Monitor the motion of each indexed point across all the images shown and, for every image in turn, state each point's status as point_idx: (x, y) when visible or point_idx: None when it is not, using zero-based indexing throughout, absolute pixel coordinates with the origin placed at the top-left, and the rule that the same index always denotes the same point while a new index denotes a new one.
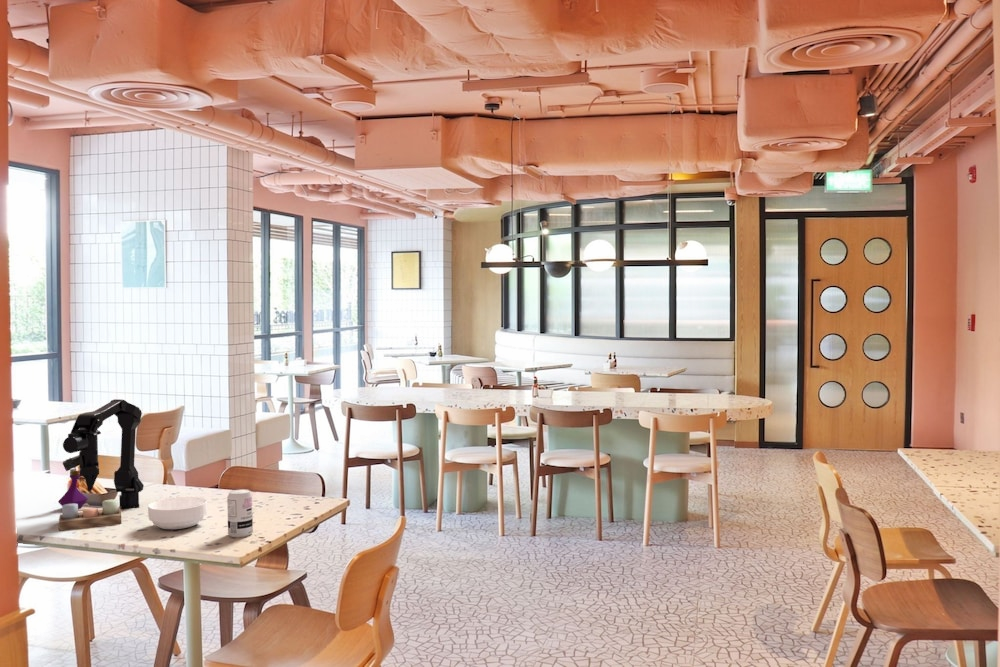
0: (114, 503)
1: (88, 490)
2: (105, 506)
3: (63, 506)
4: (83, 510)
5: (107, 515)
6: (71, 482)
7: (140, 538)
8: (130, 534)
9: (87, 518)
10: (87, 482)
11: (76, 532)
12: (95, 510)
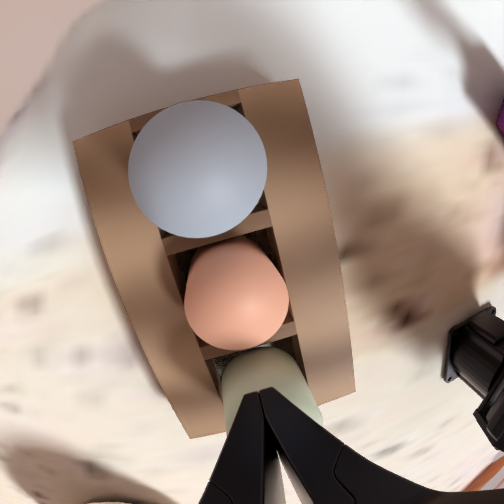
0: None
1: (244, 399)
2: (228, 404)
3: (151, 123)
4: (227, 260)
5: (196, 387)
6: None
7: (14, 459)
8: (40, 444)
9: (138, 299)
10: (211, 496)
11: (47, 255)
12: (209, 343)
